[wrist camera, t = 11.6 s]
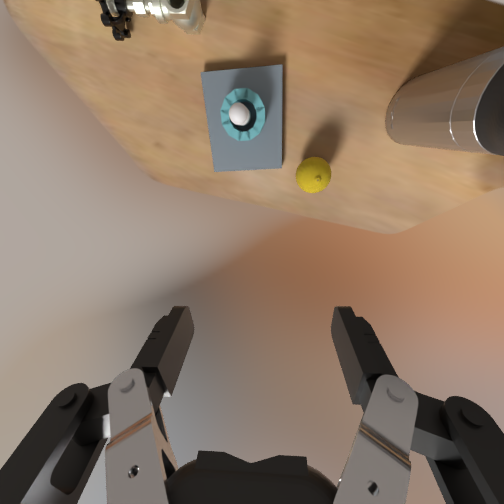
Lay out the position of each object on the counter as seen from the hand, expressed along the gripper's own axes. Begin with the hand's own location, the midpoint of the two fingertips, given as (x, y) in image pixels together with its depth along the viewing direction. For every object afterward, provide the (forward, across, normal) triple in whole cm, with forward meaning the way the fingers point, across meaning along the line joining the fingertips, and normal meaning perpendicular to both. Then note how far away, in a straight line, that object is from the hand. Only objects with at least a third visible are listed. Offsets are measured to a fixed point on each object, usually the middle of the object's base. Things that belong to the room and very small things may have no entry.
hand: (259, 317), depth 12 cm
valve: (+34, +13, -24) cm, 43 cm away
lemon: (+33, -8, -2) cm, 34 cm away
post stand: (+33, +3, -10) cm, 35 cm away
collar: (+32, +3, -11) cm, 34 cm away
